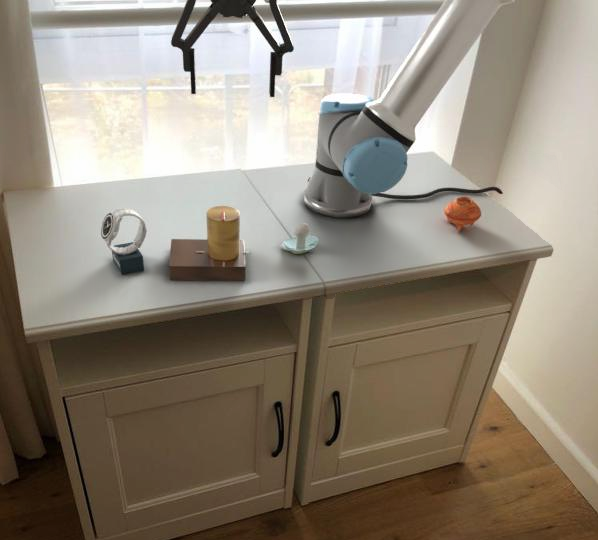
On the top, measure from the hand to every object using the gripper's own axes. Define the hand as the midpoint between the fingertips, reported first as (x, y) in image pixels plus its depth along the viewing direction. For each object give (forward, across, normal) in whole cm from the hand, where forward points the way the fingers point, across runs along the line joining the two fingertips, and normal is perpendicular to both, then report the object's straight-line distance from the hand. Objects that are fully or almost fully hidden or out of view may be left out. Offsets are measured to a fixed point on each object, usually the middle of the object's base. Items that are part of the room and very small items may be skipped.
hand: (233, 93), depth 116 cm
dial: (+26, -2, -10) cm, 28 cm away
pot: (+29, +50, +8) cm, 58 cm away
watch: (+29, -20, -10) cm, 37 cm away
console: (+29, -5, -10) cm, 31 cm away
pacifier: (+29, +13, -3) cm, 32 cm away
